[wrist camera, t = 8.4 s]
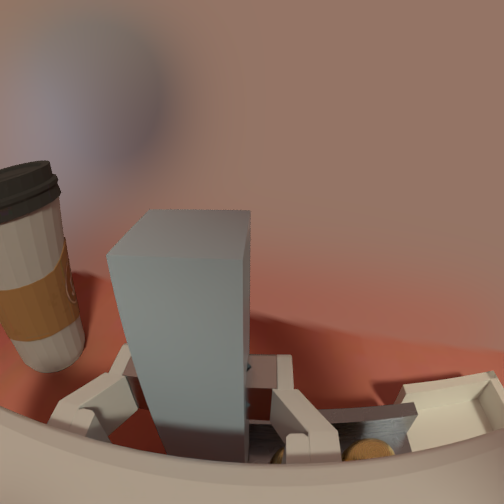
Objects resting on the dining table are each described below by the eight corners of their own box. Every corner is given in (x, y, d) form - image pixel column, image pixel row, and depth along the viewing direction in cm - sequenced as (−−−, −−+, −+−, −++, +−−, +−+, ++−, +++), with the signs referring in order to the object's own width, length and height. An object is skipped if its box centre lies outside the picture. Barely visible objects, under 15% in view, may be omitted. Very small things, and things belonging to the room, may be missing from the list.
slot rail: (397, 429, 17) (413, 401, 16) (420, 523, 11) (445, 505, 9) (226, 434, 18) (223, 407, 16) (213, 539, 11) (206, 527, 10)
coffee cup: (106, 369, 22) (55, 169, 15) (14, 393, 18) (-65, 204, 11) (90, 311, 28) (58, 154, 22) (15, 331, 24) (-32, 178, 18)
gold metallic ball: (380, 451, 15) (397, 424, 14) (388, 495, 12) (410, 472, 11) (330, 456, 15) (341, 429, 14) (334, 502, 12) (349, 481, 11)
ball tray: (479, 393, 18) (493, 370, 17) (523, 495, 10) (546, 476, 8) (391, 407, 19) (403, 384, 18) (423, 536, 10) (444, 523, 9)
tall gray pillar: (249, 442, 15) (251, 205, 10) (244, 506, 12) (240, 272, 6) (194, 438, 16) (154, 204, 10) (182, 500, 12) (95, 265, 6)
